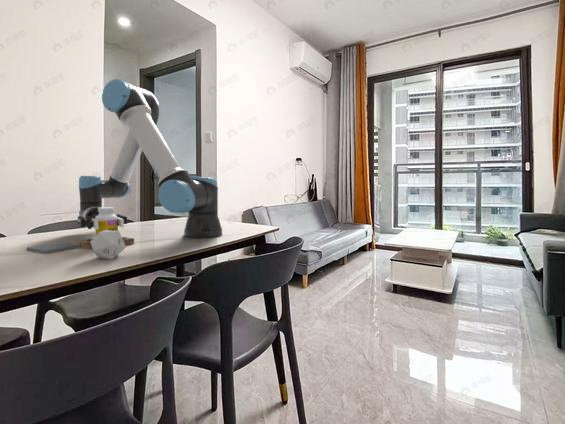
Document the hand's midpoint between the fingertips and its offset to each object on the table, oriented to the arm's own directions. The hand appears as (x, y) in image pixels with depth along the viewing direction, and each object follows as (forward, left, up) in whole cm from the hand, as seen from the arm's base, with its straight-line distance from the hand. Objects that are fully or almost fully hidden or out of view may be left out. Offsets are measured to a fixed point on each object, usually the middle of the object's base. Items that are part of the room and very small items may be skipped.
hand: (109, 224), depth 100 cm
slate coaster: (+15, +9, -8) cm, 19 cm away
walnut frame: (+5, -2, -8) cm, 9 cm away
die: (-10, +8, -8) cm, 16 cm away
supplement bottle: (+5, -2, -8) cm, 9 cm away
